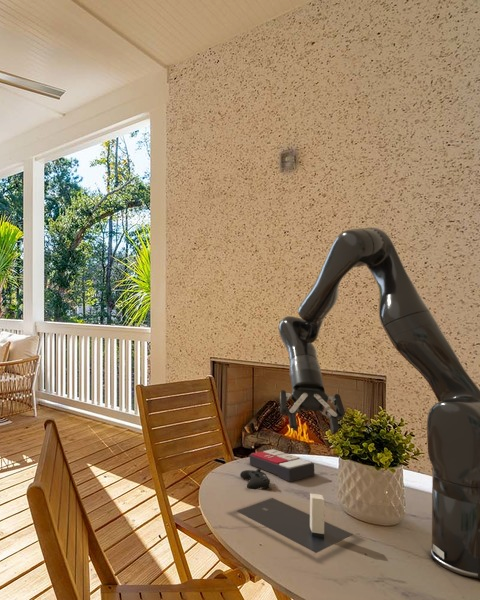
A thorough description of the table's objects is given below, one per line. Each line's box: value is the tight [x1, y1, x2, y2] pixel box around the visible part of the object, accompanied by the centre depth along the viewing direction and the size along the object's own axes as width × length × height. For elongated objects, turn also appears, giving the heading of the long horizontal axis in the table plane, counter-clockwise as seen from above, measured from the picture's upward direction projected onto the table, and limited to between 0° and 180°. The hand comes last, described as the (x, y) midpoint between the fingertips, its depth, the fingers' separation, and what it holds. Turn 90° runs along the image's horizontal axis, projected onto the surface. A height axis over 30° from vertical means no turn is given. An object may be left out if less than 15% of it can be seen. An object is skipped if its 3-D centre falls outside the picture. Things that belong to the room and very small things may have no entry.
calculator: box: [249, 448, 315, 482], centre depth 133 cm, size 11×4×15 cm
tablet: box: [236, 497, 354, 554], centre depth 100 cm, size 22×16×1 cm
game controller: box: [239, 468, 271, 490], centre depth 123 cm, size 10×5×6 cm
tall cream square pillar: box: [309, 493, 325, 538], centre depth 95 cm, size 2×2×8 cm
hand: (314, 431), depth 104 cm, fingers open, 8 cm apart
